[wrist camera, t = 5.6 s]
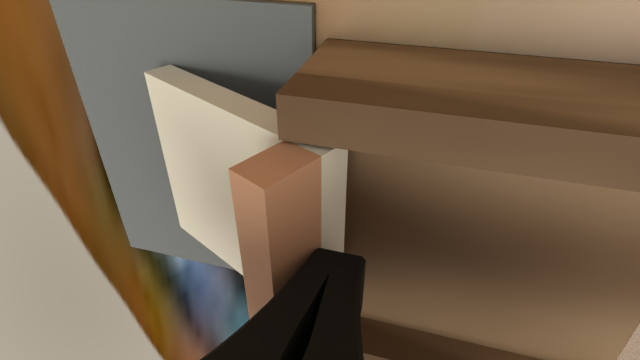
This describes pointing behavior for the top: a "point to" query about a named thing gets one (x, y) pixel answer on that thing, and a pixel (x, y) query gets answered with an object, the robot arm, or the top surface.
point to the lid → (246, 181)
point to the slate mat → (187, 54)
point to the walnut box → (481, 197)
